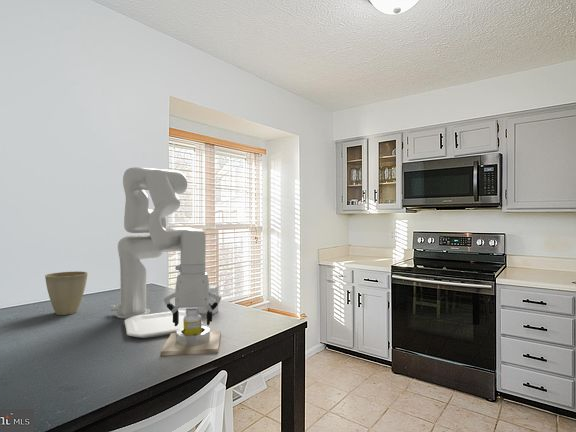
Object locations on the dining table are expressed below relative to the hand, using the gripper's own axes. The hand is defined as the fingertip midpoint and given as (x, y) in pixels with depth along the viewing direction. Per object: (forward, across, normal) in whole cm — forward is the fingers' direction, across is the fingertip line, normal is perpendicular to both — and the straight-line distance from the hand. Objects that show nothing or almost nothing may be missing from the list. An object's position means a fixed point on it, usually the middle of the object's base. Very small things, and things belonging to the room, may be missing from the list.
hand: (192, 324), depth 110 cm
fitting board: (+6, 0, 0) cm, 6 cm away
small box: (+7, +1, +37) cm, 37 cm away
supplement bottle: (+5, 0, 0) cm, 5 cm away
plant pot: (+7, -56, +44) cm, 71 cm away
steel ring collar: (+5, 0, 0) cm, 5 cm away
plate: (+7, -13, +20) cm, 24 cm away
